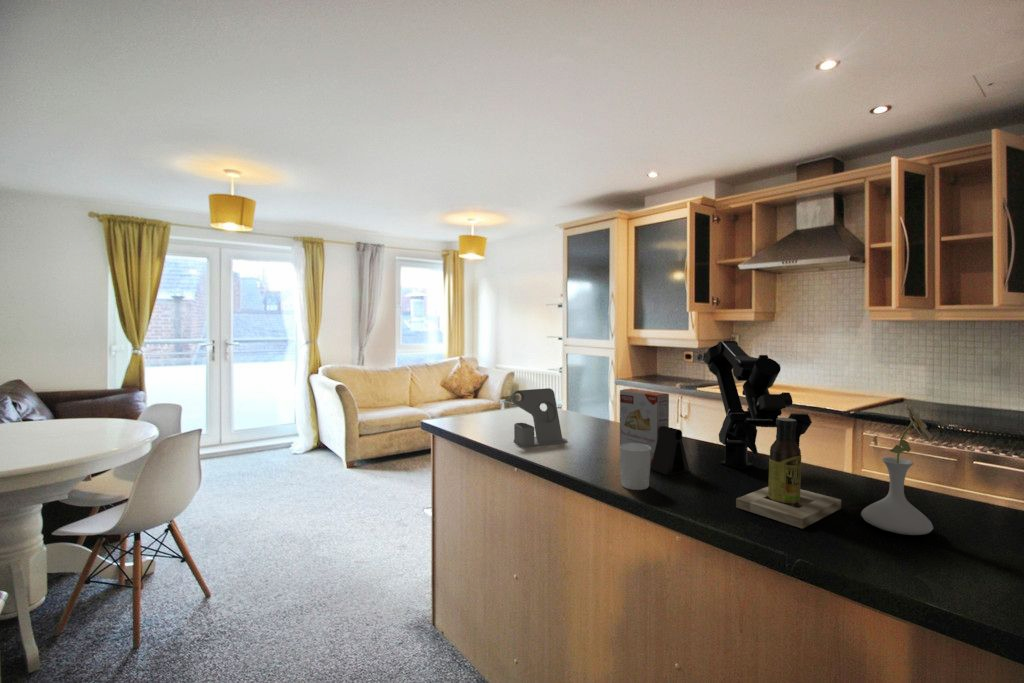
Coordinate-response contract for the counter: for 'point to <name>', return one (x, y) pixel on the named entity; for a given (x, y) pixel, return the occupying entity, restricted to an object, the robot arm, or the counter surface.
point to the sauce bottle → (785, 465)
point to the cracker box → (642, 416)
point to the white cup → (635, 465)
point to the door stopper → (669, 452)
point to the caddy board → (790, 507)
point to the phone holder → (538, 419)
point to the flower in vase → (899, 491)
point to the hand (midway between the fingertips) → (776, 454)
